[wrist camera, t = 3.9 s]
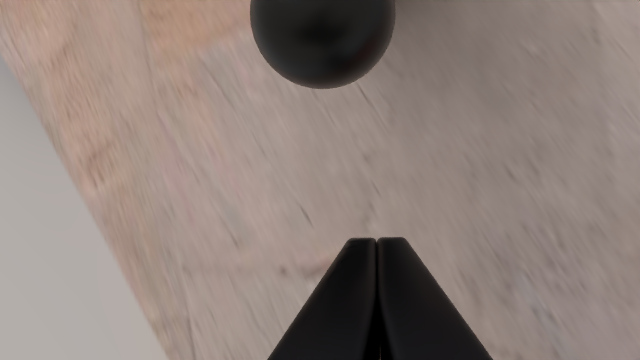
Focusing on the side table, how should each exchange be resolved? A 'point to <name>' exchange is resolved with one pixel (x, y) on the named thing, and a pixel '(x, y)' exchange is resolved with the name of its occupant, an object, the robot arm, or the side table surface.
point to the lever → (322, 38)
